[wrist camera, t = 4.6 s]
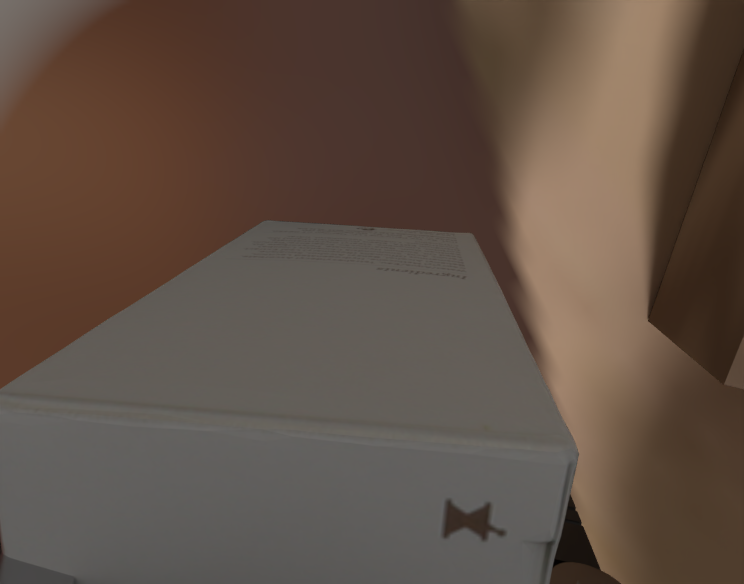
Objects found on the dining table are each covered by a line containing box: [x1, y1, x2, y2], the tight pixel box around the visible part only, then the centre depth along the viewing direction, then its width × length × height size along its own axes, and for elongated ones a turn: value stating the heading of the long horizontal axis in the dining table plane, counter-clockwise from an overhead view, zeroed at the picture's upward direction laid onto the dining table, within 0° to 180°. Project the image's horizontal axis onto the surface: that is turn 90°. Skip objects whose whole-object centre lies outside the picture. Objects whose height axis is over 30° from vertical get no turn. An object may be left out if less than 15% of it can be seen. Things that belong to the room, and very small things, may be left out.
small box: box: [0, 220, 579, 584], centre depth 11 cm, size 8×6×10 cm
